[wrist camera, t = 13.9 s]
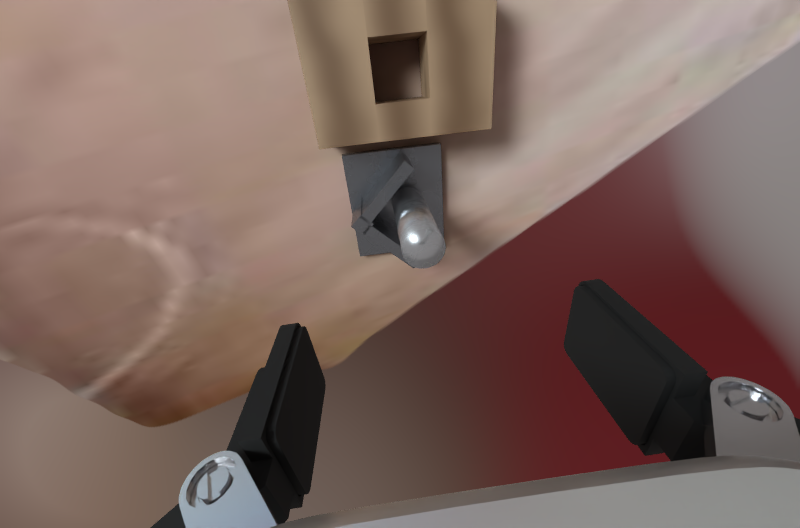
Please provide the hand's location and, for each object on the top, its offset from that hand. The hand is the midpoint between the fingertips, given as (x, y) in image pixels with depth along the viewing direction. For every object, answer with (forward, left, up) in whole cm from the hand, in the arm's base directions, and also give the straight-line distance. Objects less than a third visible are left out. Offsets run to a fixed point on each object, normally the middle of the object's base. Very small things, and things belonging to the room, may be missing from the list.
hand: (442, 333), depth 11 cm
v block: (0, +4, -28) cm, 28 cm away
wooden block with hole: (-1, -9, -28) cm, 29 cm away
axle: (-1, +4, -27) cm, 27 cm away
